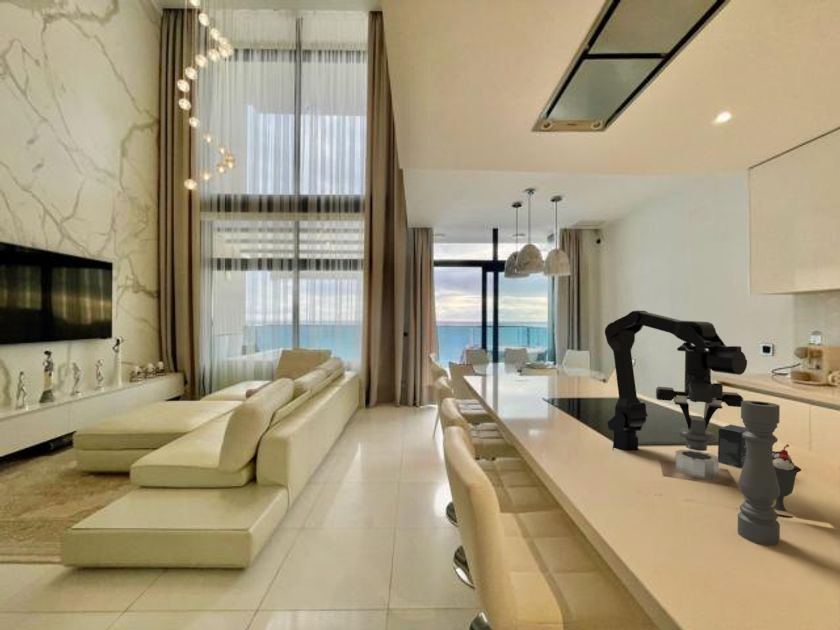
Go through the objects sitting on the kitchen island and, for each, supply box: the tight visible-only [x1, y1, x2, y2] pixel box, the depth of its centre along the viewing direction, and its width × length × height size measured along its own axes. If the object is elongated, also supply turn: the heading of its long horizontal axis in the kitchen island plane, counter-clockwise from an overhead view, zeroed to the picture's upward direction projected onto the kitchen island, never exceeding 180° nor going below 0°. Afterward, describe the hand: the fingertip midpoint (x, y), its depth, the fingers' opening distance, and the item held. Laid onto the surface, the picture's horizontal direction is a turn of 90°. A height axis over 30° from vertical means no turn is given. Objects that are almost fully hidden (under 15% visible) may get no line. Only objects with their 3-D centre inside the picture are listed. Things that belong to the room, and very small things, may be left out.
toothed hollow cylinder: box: [674, 449, 720, 479], centre depth 112 cm, size 9×9×4 cm
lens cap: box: [678, 414, 716, 452], centre depth 112 cm, size 8×8×8 cm
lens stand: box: [659, 459, 740, 489], centre depth 112 cm, size 16×14×1 cm
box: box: [717, 424, 747, 469], centre depth 121 cm, size 8×6×11 cm
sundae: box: [772, 443, 802, 519], centre depth 91 cm, size 7×7×15 cm
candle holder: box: [737, 400, 781, 547], centre depth 81 cm, size 6×6×25 cm
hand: (696, 429), depth 112 cm, fingers closed on lens cap, 3 cm apart
